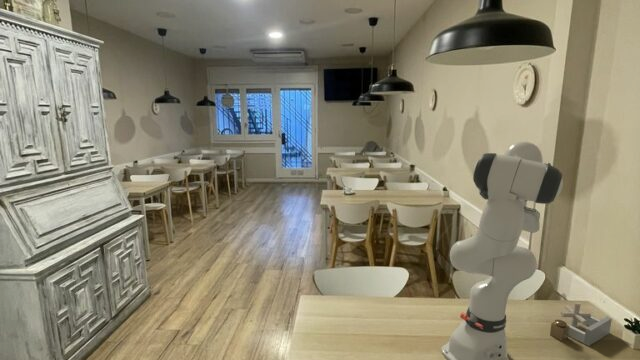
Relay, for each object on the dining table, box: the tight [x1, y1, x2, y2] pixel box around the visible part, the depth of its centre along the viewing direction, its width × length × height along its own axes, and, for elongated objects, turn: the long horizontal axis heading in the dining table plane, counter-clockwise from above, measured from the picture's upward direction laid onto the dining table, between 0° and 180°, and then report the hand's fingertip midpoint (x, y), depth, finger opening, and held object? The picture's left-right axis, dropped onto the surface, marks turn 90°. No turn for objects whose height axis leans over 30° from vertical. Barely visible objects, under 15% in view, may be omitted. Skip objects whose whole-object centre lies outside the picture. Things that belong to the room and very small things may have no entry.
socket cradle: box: [556, 310, 613, 347], centre depth 129 cm, size 15×12×6 cm
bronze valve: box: [549, 319, 570, 342], centre depth 126 cm, size 4×4×6 cm
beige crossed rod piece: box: [560, 301, 592, 329], centre depth 131 cm, size 10×10×10 cm
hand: (510, 236), depth 141 cm, fingers closed
